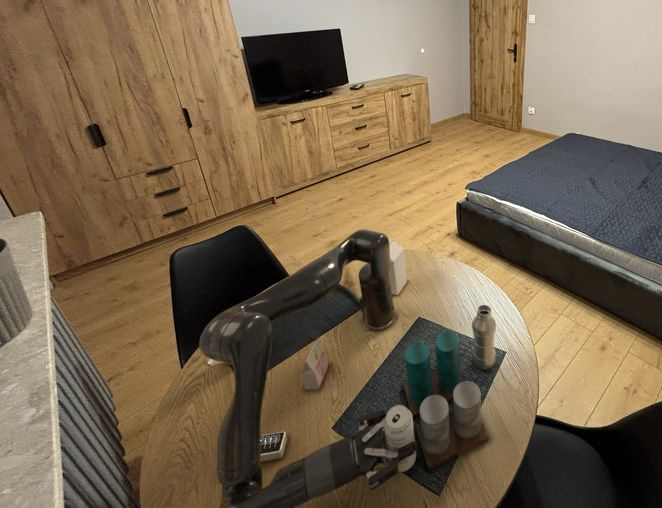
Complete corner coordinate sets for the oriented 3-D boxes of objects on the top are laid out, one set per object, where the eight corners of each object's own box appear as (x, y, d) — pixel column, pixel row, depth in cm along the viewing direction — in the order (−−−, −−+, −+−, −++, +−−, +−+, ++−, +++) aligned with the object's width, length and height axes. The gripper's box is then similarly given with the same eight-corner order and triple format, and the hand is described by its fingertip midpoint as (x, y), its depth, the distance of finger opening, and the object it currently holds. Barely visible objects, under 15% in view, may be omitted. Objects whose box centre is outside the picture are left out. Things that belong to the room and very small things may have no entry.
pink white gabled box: (305, 389, 98) (298, 363, 95) (315, 366, 105) (309, 340, 101) (318, 389, 98) (312, 363, 94) (328, 366, 105) (322, 341, 101)
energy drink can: (422, 453, 84) (417, 411, 78) (404, 480, 79) (398, 437, 73) (402, 438, 87) (396, 396, 81) (384, 463, 82) (377, 420, 76)
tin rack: (428, 470, 81) (425, 436, 76) (416, 430, 89) (413, 397, 84) (488, 439, 87) (489, 405, 82) (472, 404, 94) (472, 371, 89)
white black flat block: (282, 457, 84) (279, 451, 83) (230, 467, 82) (227, 460, 81) (287, 437, 88) (285, 430, 87) (238, 445, 86) (235, 439, 85)
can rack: (413, 418, 91) (408, 373, 85) (403, 387, 99) (398, 343, 92) (467, 394, 97) (467, 350, 90) (454, 365, 104) (453, 323, 98)
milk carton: (406, 282, 136) (402, 239, 128) (397, 295, 130) (392, 251, 122) (389, 278, 138) (384, 236, 131) (379, 291, 132) (374, 247, 124)
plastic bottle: (494, 375, 102) (495, 321, 94) (470, 370, 103) (469, 317, 95) (497, 354, 107) (498, 302, 100) (474, 351, 109) (474, 299, 101)
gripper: (331, 496, 67) (419, 453, 73) (325, 421, 79) (401, 389, 85) (338, 518, 70) (422, 475, 76) (330, 442, 82) (403, 410, 88)
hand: (410, 430), depth 81 cm, fingers closed on energy drink can, 6 cm apart
